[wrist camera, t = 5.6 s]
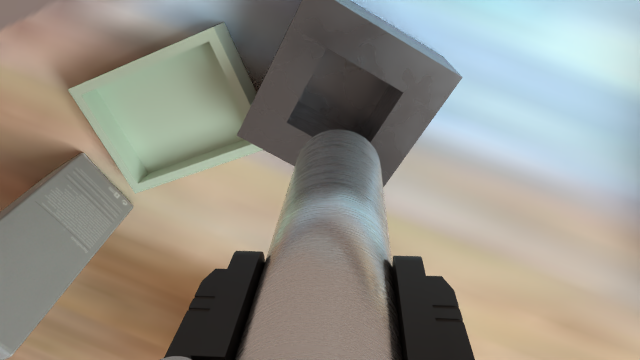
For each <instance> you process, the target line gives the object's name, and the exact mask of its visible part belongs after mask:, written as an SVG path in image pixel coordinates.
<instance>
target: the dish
mask: <svg viewBox="0 0 640 360" xmlns="http://www.w3.org/2000/svg"><path fill="white" fill-rule="evenodd" d="M68 91H69V92H70V94H71V95H72V97H73V98H74V100H75V102H76V103H77V105H78V106H79V108H80V109H81V111H82V112H83V114H84V115H85V117H86V118H87V120H88V122H89V123H90V125H91V126H92V128H93V129H94V131H95V132H96V134H97V135H98V137H99V138H100V140H101V142H102V143H103V145H104V146H105V148H106V149H107V151H108V152H109V154H110V155H111V157H112V158H113V160H114V162H115V163H116V165H117V166H118V168H119V169H120V171H121V172H122V174H123V175H124V177H125V179H126V180H127V182H128V183H129V185H130V186H131V188H132V189H133V191H134V192H135V194H136V193H138V192H141V191H144V190H147V189H150V188H153V187H156V186H159V185H162V184H165V183H168V182H171V181H174V180H176V179H179V178H182V177H185V176H188V175H191V174H194V173H197V172H200V171H203V170H206V169H209V168H212V167H214V166H217V165H220V164H223V163H226V162H229V161H232V160H235V159H238V158H241V157H244V156H247V155H250V154H253V153H255V152H258V151H261V150H263V149H261V148H259V147H257V146H255V145H254V144H252V143H250V142H248V141H246V140H244V139H242V138H240V137H238V136H237V134H238V132H239V129H240V127H241V125H242V123H243V121H244V119H245V117H246V115H247V113H248V111H249V109H250V107H251V105H252V103H253V101H254V99H255V96H256V94H257V93H256V91H255V88H254V86H253V84H252V82H251V80H250V78H249V75H248V73H247V71H246V69H245V67H244V64H243V62H242V60H241V58H240V56H239V53H238V51H237V49H236V47H235V45H234V43H233V40H232V38H231V36H230V34H229V32H228V29H227V27H226V25H225V23H224V22H223V23H221V24H219V25H216V26H214V27H212V28H209V29H207V30H205V31H202V32H200V33H198V34H195V35H193V36H191V37H188V38H186V39H184V40H181V41H179V42H177V43H174V44H172V45H170V46H167V47H165V48H163V49H160V50H158V51H156V52H154V53H151V54H149V55H147V56H144V57H142V58H140V59H137V60H135V61H133V62H130V63H128V64H126V65H123V66H121V67H119V68H116V69H114V70H112V71H109V72H107V73H105V74H102V75H100V76H98V77H95V78H93V79H91V80H88V81H86V82H84V83H82V84H79V85H77V86H75V87H72V88H70V89H68Z"/></svg>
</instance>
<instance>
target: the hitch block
mask: <svg viewBox="0 0 640 360" xmlns="http://www.w3.org/2000/svg"><path fill="white" fill-rule="evenodd" d="M461 79H462V76H461V75H460V74H459V73H458V72H457V71H456V70H455V69H454V68H453V67H452V66H451V65H450V64H449V62H448V61H447V60H446V59H445V58H444V57H443V56H441V55H439V54H438V53H436V52H434V51H433V50H431V49H429V48H428V47H426V46H425V45H423V44H421V43H420V42H418V41H416V40H415V39H413V38H411V37H410V36H408V35H406V34H405V33H403V32H402V31H400V30H398V29H397V28H395V27H393V26H392V25H390V24H388V23H387V22H385V21H384V20H382V19H380V18H379V17H377V16H375V15H374V14H372V13H370V12H369V11H367V10H365V9H364V8H362V7H361V6H359V5H357V4H356V3H354V2H352V1H351V0H302V2H301V4H300V6H299V8H298V10H297V12H296V14H295V16H294V18H293V20H292V22H291V24H290V26H289V28H288V30H287V32H286V35H285V37H284V39H283V41H282V43H281V45H280V47H279V49H278V51H277V53H276V55H275V57H274V59H273V61H272V63H271V66H270V68H269V70H268V72H267V74H266V76H265V78H264V80H263V82H262V84H261V86H260V88H259V90H258V92H257V94H256V96H255V99H254V101H253V103H252V105H251V107H250V109H249V111H248V113H247V115H246V117H245V119H244V121H243V123H242V125H241V127H240V129H239V132H238V134H237V136H238V137H240V138H242V139H244V140H246V141H248V142H250V143H252V144H254V145H255V146H257V147H259V148H261V149H263V150H265V151H267V152H269V153H271V154H273V155H275V156H276V157H278V158H280V159H282V160H284V161H286V162H288V163H290V164H292V165H294V166H295V165H296V162H297V159H298V156H299V153H300V151H301V149H302V147H303V146H304V145H305V144H306V142H307V141H308V140H310V139H311V138H312V137H314V136H315V135H317V134H319V133H321V132H324V131H328V130H335V129H341V130H348V131H352V132H355V133H357V134H359V135H361V136H362V137H364V138H365V139H366V140H368V141H369V142H370V143H371V144H372V146H373V147H374V148H375V150H376V152H377V154H378V157H379V160H380V166H381V174H382V182H383V187H384V186H385V184H386V183H387V182H388V180H389V179H390V177H391V176H392V175H393V173H394V172H395V170H396V169H397V168H398V166H399V165H400V163H401V162H402V161H403V159H404V158H405V157H406V155H407V154H408V152H409V151H410V150H411V148H412V147H413V145H414V144H415V143H416V141H417V140H418V138H419V137H420V136H421V134H422V133H423V132H424V130H425V129H426V127H427V126H428V125H429V123H430V122H431V120H432V119H433V118H434V116H435V115H436V113H437V112H438V111H439V109H440V108H441V106H442V105H443V104H444V102H445V101H446V100H447V98H448V97H449V95H450V94H451V93H452V91H453V90H454V88H455V87H456V86H457V84H458V83H459V81H460V80H461Z"/></svg>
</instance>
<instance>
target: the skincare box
mask: <svg viewBox="0 0 640 360" xmlns="http://www.w3.org/2000/svg"><path fill="white" fill-rule="evenodd" d="M132 208H133V205H132V204H131V203H130V202H129V201H128V199H127V198H126V197H125V196H124V195H123V194H122V193H121V192H120V191H119V190H118V189H117V188H116V187H115V186H114V185H113V184H112V183H111V182H110V181H109V180H108V179H107V178H106V177H105V176H104V175H103V173H102V172H101V171H100V170H99V169H98V168H97V167H96V166H95V165H94V164H93V163H92V162H91V161H90V159H89V158H88V157H87V156H86V154H85V153H81V154H78V155H77V156H75V157H74V158H72V159H71V160H69V161H67V162H66V163H64V164H63V165H61V166H60V167H58V168H57V169H55V170H54V171H53V172H51V173H50V174H48V175H47V176H46V177H44V178H43V179H42V180H40V181H39V182H38V183H36V184H35V185H34V186H33V187H31V188H30V189H29V190H27V191H26V192H25V193H24V194H22V195H21V196H20V197H19V198H17V199H16V200H15V201H14V202H12V203H11V204H10V205H8V206H7V207H6V208H5V209H3V210H2V211H1V212H0V360H5V359H7V358H9V357H11V356H12V355H13V354H14V353H15V351H16V350H17V349H18V348H19V347H20V345H21V344H22V343H23V342H24V341H25V340H26V338H27V337H28V336H29V334H30V333H31V332H32V331H33V330H34V328H35V327H36V326H37V325H38V324H39V322H40V321H41V320H42V319H43V317H44V316H45V315H46V314H47V313H48V311H49V310H50V309H51V308H52V306H53V305H54V304H55V303H56V301H57V300H58V299H59V298H60V297H61V295H62V294H63V293H64V292H65V290H66V289H67V288H68V287H69V285H70V284H71V283H72V282H73V281H74V279H75V278H76V277H77V276H78V274H79V273H80V272H81V271H82V269H83V268H84V267H85V266H86V265H87V263H88V262H89V261H90V260H91V258H92V257H93V256H94V255H95V254H96V252H97V251H98V250H99V249H100V247H101V246H102V245H103V244H104V242H105V241H106V240H107V239H108V238H109V236H110V235H111V234H112V233H113V231H114V230H115V229H116V228H117V226H118V225H119V224H120V223H121V222H122V220H123V219H124V218H125V217H126V216H127V214H128V213H129V212H130V211H131V209H132Z"/></svg>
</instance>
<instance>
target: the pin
mask: <svg viewBox="0 0 640 360" xmlns="http://www.w3.org/2000/svg"><path fill="white" fill-rule="evenodd" d="M235 360H403V354H402V346H401V337H400V329H399V320H398V312H397V303H396V295H395V287H394V278H393V270H392V258H391V249H390V241H389V233H388V224H387V216H386V208H385V199H384V191H383V182H382V174H381V166H380V160H379V157H378V154H377V152H376V150H375V148H374V147H373V146H372V144H371V143H370V142H369V141H368V140H366V139H365V138H364V137H362V136H361V135H359V134H357V133H355V132H352V131H348V130H341V129H335V130H328V131H324V132H321V133H319V134H317V135H315V136H314V137H312V138H311V139H310V140H308V141H307V142H306V144H305V145H304V146H303V147H302V149H301V151H300V153H299V156H298V159H297V162H296V165H295V168H294V172H293V175H292V178H291V181H290V184H289V187H288V191H287V194H286V197H285V200H284V203H283V207H282V210H281V213H280V216H279V219H278V223H277V226H276V229H275V232H274V235H273V239H272V242H271V245H270V248H269V251H268V255H267V258H266V261H265V264H264V267H263V271H262V274H261V277H260V280H259V283H258V287H257V290H256V293H255V296H254V299H253V302H252V306H251V309H250V312H249V315H248V318H247V322H246V325H245V328H244V331H243V334H242V338H241V341H240V344H239V347H238V350H237V354H236V357H235Z"/></svg>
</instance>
